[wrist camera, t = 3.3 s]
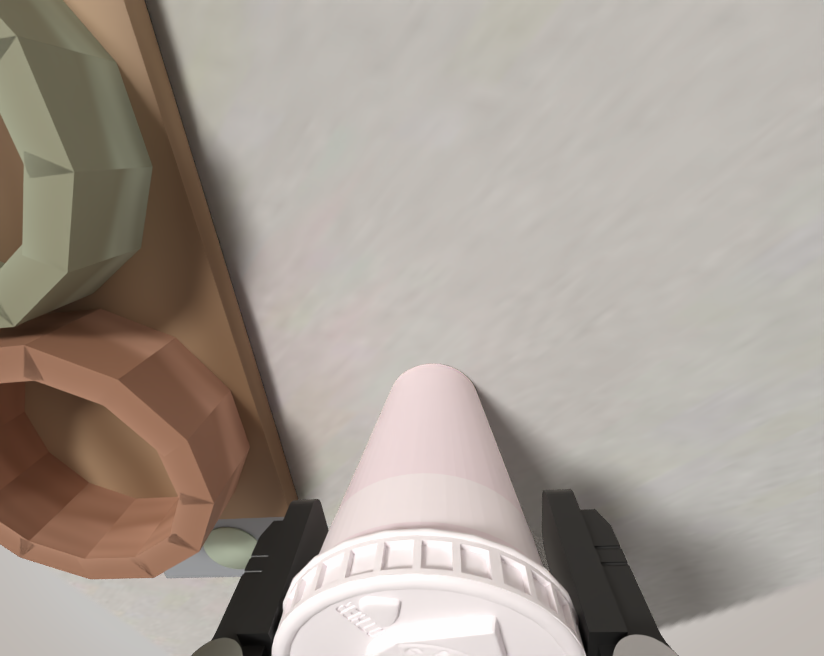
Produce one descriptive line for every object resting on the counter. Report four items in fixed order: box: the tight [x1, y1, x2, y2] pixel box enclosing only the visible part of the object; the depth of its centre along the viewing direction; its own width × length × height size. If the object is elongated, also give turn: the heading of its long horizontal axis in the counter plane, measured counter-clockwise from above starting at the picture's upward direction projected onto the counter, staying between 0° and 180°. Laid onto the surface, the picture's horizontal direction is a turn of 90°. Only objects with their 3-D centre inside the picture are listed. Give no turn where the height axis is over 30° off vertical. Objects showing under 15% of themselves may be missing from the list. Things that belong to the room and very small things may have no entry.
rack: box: [0, 0, 298, 579], centre depth 14 cm, size 12×22×4 cm, turn 7°
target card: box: [164, 517, 284, 578], centre depth 21 cm, size 9×4×1 cm, turn 97°
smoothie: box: [272, 364, 586, 656], centre depth 10 cm, size 6×6×14 cm
